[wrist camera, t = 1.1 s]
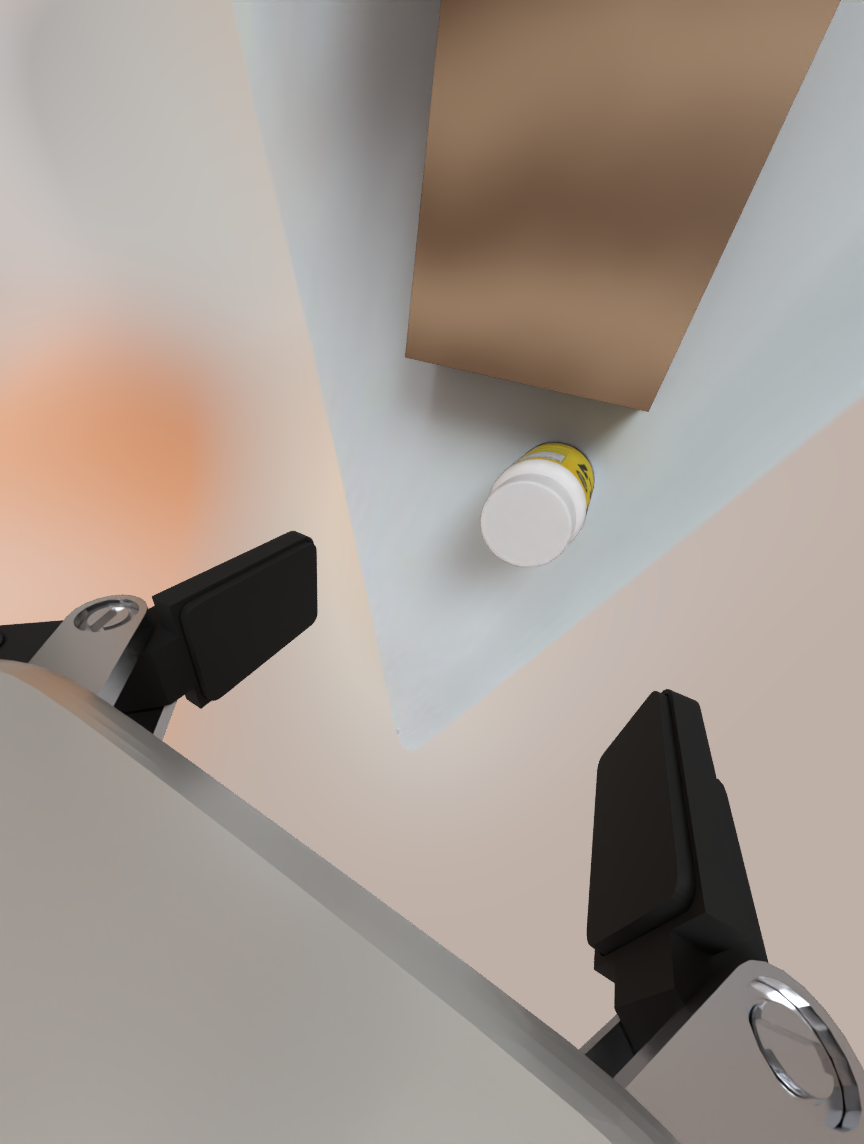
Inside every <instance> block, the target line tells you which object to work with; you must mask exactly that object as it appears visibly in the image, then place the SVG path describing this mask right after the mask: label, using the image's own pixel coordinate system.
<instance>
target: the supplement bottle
mask: <svg viewBox="0 0 864 1144" xmlns="http://www.w3.org/2000/svg"><path fill="white" fill-rule="evenodd" d="M594 481H595V479H594V470H593V466H592V464H591V461H590V460H589V458H588V457H587V455H586V454H585V453H584V452H583V451H582V450H581V449H579V448H578V447H576V446H574V445H572V444H570V443H566V442H561V441H552V442H546V443H543V444H540V445H538V446H536V447H534V448H533V449H531V450H530V451H528V452H527V453H526V454H525V455H524V456H522V457H521V458H520V459H519V460H518V461H516V462H515V463H514V464H513V465H511V466H510V467H509V468H508V469H506V470H505V471H504V472H503V473H502V474H501V475H500V476H499V478H498V479H497V480H496V482H495V483H494V485H493V487H492V489H491V491H490V494H489V498H488V499H487V501H486V502H485V504H484V506H483V509H482V513H481V518H480V526H481V532H482V536H483V538H484V540H485V543H486V544H487V546H488V547H489V549H490V550H491V551H492V552H493V553H494V554H495V555H496V556H497V557H499V558H500V559H501V560H503V561H505V562H507V563H509V564H512V565H515V566H520V567H537V566H541V565H544V564H546V563H549V562H551V561H552V560H554V559H555V558H557V557H558V556H559V555H560V554H561V553H562V552H563V550H564V549H565V548H566V546H567V545H568V544H569V543H570V542H571V541H572V540H573V539H574V538H575V537H576V536H577V534H578V533H579V531H580V530H581V528H582V526H583V524H584V521H585V517H586V514H587V510H588V506H589V503H590V499H591V495H592V492H593V488H594Z"/></svg>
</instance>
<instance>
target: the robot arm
mask: <svg viewBox="0 0 864 1144" xmlns="http://www.w3.org/2000/svg"><path fill="white" fill-rule="evenodd" d="M316 553H317V552H316V546H315V545H314V543H313V540H312V539H311V538H310V537H308V536H305V535H303V534H301V533H298V532H296V531H291V532H288V533H286V534H284V535H281V536H279V537H277V538H275V539H273V540H271V541H269V542H267V543H264V544H262V545H260V546H258V547H256V548H254V549H252V550H250V551H247V552H245V553H243V554H241V555H239V556H237V557H235V558H232V559H230V560H228V561H227V562H224V563H222V564H220V565H218V566H215V567H213V568H211V569H209V570H207V571H205V572H203V573H201V574H198V575H196V576H194V577H192V578H190V579H188V580H186V581H184V582H181V583H179V584H177V585H175V586H173V587H171V588H169V589H167V590H164V591H162V592H160V593H158V594H156V595H154V596H152V599H153V602H154V604H155V606H154V607H152V608H150V609H148V607H147V604H146V602H145V601H144V600H143V599H141V598H139V597H136V596H132V595H114V596H107V597H103V598H99V599H96V600H93V601H90V602H87V603H85V604H84V605H82V606H80V607H78V608H76V609H75V610H74V611H73V612H71V613H70V614H69V615H68V616H67V617H66V618H65V619H64V620H63V621H50V622H39V623H25V624H13V625H1V626H0V1144H864V1070H863V1068H862V1066H861V1064H860V1062H859V1060H858V1059H857V1057H856V1055H855V1053H854V1052H853V1050H852V1048H851V1046H850V1044H849V1043H848V1041H847V1039H846V1037H845V1036H844V1034H843V1033H842V1032H841V1030H840V1029H839V1028H838V1026H837V1025H836V1024H835V1022H834V1021H833V1019H832V1018H831V1017H830V1015H829V1014H828V1013H827V1011H826V1010H825V1009H824V1008H823V1007H822V1006H821V1004H819V1003H818V1001H817V1000H816V999H815V998H814V997H813V996H812V995H811V994H810V993H809V992H808V991H807V990H806V988H805V987H804V986H802V985H801V984H800V983H798V982H797V981H796V980H795V979H793V978H792V977H791V976H789V975H788V974H787V973H786V972H784V971H783V970H781V969H779V968H777V967H775V966H773V965H771V964H769V963H768V959H767V955H766V951H765V947H764V943H763V939H762V935H761V931H760V927H759V923H758V919H757V914H756V910H755V906H754V902H753V898H752V895H751V890H750V886H749V883H748V878H747V874H746V870H745V866H744V862H743V858H742V854H741V850H740V846H739V842H738V838H737V833H736V829H735V825H734V821H733V817H732V813H731V809H730V805H729V801H728V797H727V793H726V791H725V788H724V785H723V784H722V783H721V782H720V781H719V779H716V774H715V770H714V765H713V761H712V757H711V752H710V748H709V744H708V739H707V735H706V731H705V726H704V722H703V718H702V713H701V709H700V706H699V703H698V702H697V701H695V700H693V699H690V698H688V697H686V696H683V695H681V694H679V693H676V692H674V691H672V690H669V689H666V690H664V691H663V692H662V693H660V692H657V691H654V692H652V693H651V694H650V695H649V697H648V698H647V699H646V700H645V702H644V703H643V704H642V705H641V707H640V708H639V709H638V711H637V712H636V713H635V714H634V716H633V717H632V718H631V719H630V721H629V722H628V723H627V724H626V726H625V727H624V728H623V730H622V731H621V732H620V733H619V735H618V736H617V737H616V738H615V740H614V741H613V742H612V744H611V745H610V746H609V747H608V749H607V750H606V751H605V752H604V754H603V755H602V757H601V759H600V761H599V764H598V769H597V783H596V797H595V814H594V828H593V844H592V858H591V859H592V860H591V875H590V888H589V889H590V890H589V905H588V919H587V940H588V944H589V945H590V946H591V947H593V948H594V949H595V957H594V970H596V971H597V972H599V973H600V974H602V975H603V976H605V977H606V978H608V979H609V980H611V981H612V982H614V983H615V1006H614V1008H615V1011H616V1013H617V1014H616V1015H615V1016H614V1017H613V1018H612V1019H611V1020H610V1021H609V1022H608V1023H607V1024H606V1025H605V1026H604V1027H603V1028H602V1029H600V1030H599V1031H598V1032H597V1033H596V1034H595V1035H594V1036H593V1037H592V1038H591V1039H590V1040H589V1041H587V1042H586V1043H585V1044H584V1045H583V1046H582V1047H581V1048H580V1049H579V1050H578V1049H577V1048H576V1047H575V1046H573V1045H572V1044H571V1043H570V1042H568V1041H567V1040H566V1039H564V1038H563V1037H562V1036H561V1035H559V1034H558V1033H557V1032H555V1031H554V1030H553V1029H552V1028H550V1027H549V1026H548V1025H546V1024H545V1023H544V1022H542V1021H541V1020H539V1019H538V1018H537V1017H536V1016H534V1015H533V1014H532V1013H531V1012H529V1011H528V1010H527V1009H525V1008H524V1007H523V1006H521V1005H520V1004H519V1003H518V1002H516V1001H515V1000H514V999H512V998H511V997H510V996H508V995H507V994H506V993H504V992H503V991H502V990H500V989H499V988H498V987H497V986H495V985H494V984H492V983H491V982H490V981H489V980H487V979H486V978H485V977H483V976H482V975H481V974H479V973H478V972H477V971H475V970H474V969H473V968H472V967H470V966H469V965H468V964H466V963H465V962H464V961H462V960H461V959H459V958H458V957H457V956H456V955H454V954H453V953H451V952H450V951H449V950H447V949H446V948H445V947H443V946H442V945H441V944H439V943H438V942H437V941H435V940H434V939H433V938H431V937H430V936H428V935H427V934H426V933H424V932H423V931H422V930H420V929H419V928H418V927H416V926H415V925H413V924H412V923H411V922H409V921H408V920H407V919H405V918H404V917H403V916H401V915H400V914H399V913H397V912H396V911H394V910H393V909H392V908H390V907H389V906H388V905H386V904H385V903H384V902H382V901H381V900H380V899H378V898H377V897H376V896H374V895H373V894H371V893H370V892H369V891H367V890H366V889H365V888H363V887H362V886H361V885H359V884H358V883H357V882H355V881H354V880H352V879H351V878H350V877H348V876H347V875H346V874H344V873H343V872H342V871H340V870H339V869H337V868H336V867H335V866H333V865H332V864H331V863H329V862H328V861H327V860H325V859H324V858H322V857H321V856H320V855H318V854H317V853H316V852H314V851H313V850H311V849H310V848H309V847H307V846H306V845H305V844H303V843H302V842H301V841H299V840H298V839H296V838H295V837H294V836H292V835H291V834H290V833H288V832H287V831H285V830H284V829H283V828H281V827H280V826H279V825H277V824H276V823H275V822H273V821H272V820H270V819H269V818H268V817H266V816H265V815H264V814H262V813H261V812H259V811H258V810H257V809H255V808H254V807H253V806H251V805H250V804H248V803H247V802H245V801H244V800H243V799H242V798H240V797H239V796H238V795H236V794H235V793H233V792H232V791H231V790H229V789H228V788H227V787H225V786H224V785H222V784H221V783H220V782H218V781H217V780H216V779H214V778H213V777H211V776H210V775H209V774H207V773H206V772H204V771H203V770H202V769H200V768H199V767H198V766H196V765H195V764H193V763H192V762H191V761H189V760H188V759H186V758H185V757H184V756H182V755H181V754H180V753H178V752H177V751H175V750H174V749H173V748H171V747H170V746H168V745H167V744H166V743H164V742H163V741H162V740H163V737H164V735H165V732H166V729H167V726H168V724H169V721H170V718H171V716H172V713H173V710H174V708H175V705H176V702H177V700H178V699H179V698H180V697H182V696H183V695H185V696H186V699H187V700H189V701H190V702H192V703H193V704H195V705H196V706H198V707H199V708H203V707H204V706H205V705H206V704H208V703H209V702H210V701H212V700H213V701H214V700H217V699H219V698H221V697H222V696H224V695H225V694H226V693H227V692H229V691H230V690H231V689H232V688H234V687H235V686H236V685H237V684H238V683H240V682H241V681H242V680H243V679H245V678H246V677H247V676H248V675H250V674H251V673H252V672H253V671H255V670H256V669H257V668H258V667H260V666H261V665H262V664H263V663H265V662H266V661H267V660H268V659H270V658H271V657H272V656H273V655H275V654H276V653H277V652H278V651H279V650H281V649H282V648H283V647H285V646H286V645H287V644H288V643H290V642H291V641H292V640H293V639H295V638H296V637H297V636H298V635H300V634H301V633H302V632H303V631H305V630H306V629H307V628H308V627H309V626H311V625H312V624H313V623H314V621H315V619H316V617H317V554H316Z"/></svg>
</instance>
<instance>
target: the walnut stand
mask: <svg viewBox="0 0 864 1144" xmlns="http://www.w3.org/2000/svg"><path fill="white" fill-rule="evenodd" d="M840 1H841V0H441V6H440V16H439V26H438V35H437V45H436V55H435V65H434V75H433V85H432V95H431V105H430V115H429V125H428V135H427V145H426V155H425V165H424V175H423V184H422V194H421V204H420V214H419V224H418V234H417V244H416V254H415V264H414V274H413V284H412V294H411V304H410V314H409V324H408V333H407V343H406V353H405V357H406V358H410V359H415V360H419V361H424V362H428V363H433V364H437V365H442V366H446V367H451V368H455V369H460V370H464V371H468V372H473V373H477V374H482V375H486V376H491V377H495V378H500V379H504V380H509V381H513V382H518V383H522V384H526V385H531V386H535V387H540V388H544V389H549V390H553V391H558V392H562V393H567V394H571V395H576V396H580V397H584V398H589V399H593V400H598V401H602V402H607V403H611V404H616V405H620V406H625V407H629V408H634V409H638V410H642V411H647V412H649V410H650V407H651V405H652V403H653V401H654V399H655V397H656V395H657V392H658V390H659V388H660V386H661V384H662V382H663V380H664V377H665V375H666V373H667V371H668V369H669V367H670V365H671V362H672V360H673V358H674V356H675V354H676V352H677V350H678V347H679V345H680V343H681V341H682V339H683V337H684V335H685V333H686V330H687V328H688V326H689V324H690V322H691V320H692V318H693V315H694V313H695V311H696V309H697V307H698V305H699V303H700V300H701V298H702V296H703V294H704V292H705V290H706V288H707V285H708V283H709V281H710V279H711V277H712V275H713V273H714V270H715V268H716V266H717V264H718V262H719V260H720V258H721V255H722V253H723V251H724V249H725V247H726V245H727V243H728V240H729V238H730V236H731V234H732V232H733V230H734V228H735V225H736V223H737V221H738V219H739V217H740V215H741V213H742V210H743V208H744V206H745V204H746V202H747V200H748V198H749V196H750V193H751V191H752V189H753V187H754V185H755V183H756V181H757V178H758V176H759V174H760V172H761V170H762V168H763V166H764V163H765V161H766V159H767V157H768V155H769V153H770V151H771V148H772V146H773V144H774V142H775V140H776V138H777V136H778V133H779V131H780V129H781V127H782V125H783V123H784V121H785V118H786V116H787V114H788V112H789V110H790V108H791V106H792V103H793V101H794V99H795V97H796V95H797V93H798V91H799V88H800V86H801V84H802V82H803V80H804V78H805V76H806V73H807V71H808V69H809V67H810V65H811V63H812V61H813V59H814V56H815V54H816V52H817V50H818V48H819V46H820V44H821V41H822V39H823V37H824V35H825V33H826V31H827V29H828V26H829V24H830V22H831V20H832V18H833V16H834V14H835V11H836V9H837V7H838V5H839V3H840Z"/></svg>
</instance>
